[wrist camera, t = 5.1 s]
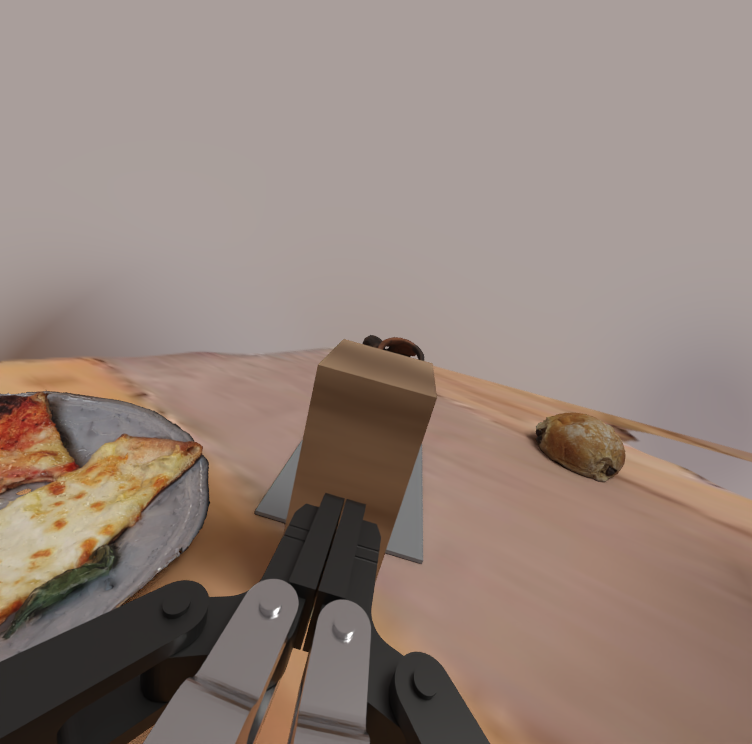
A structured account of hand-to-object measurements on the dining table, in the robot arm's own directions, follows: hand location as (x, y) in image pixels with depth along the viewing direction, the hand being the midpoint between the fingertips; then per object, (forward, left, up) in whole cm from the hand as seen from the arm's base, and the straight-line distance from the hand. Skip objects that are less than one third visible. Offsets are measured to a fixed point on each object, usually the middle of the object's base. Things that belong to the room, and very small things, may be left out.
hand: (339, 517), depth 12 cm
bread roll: (-41, -11, -10) cm, 44 cm away
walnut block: (-3, -5, -10) cm, 12 cm away
